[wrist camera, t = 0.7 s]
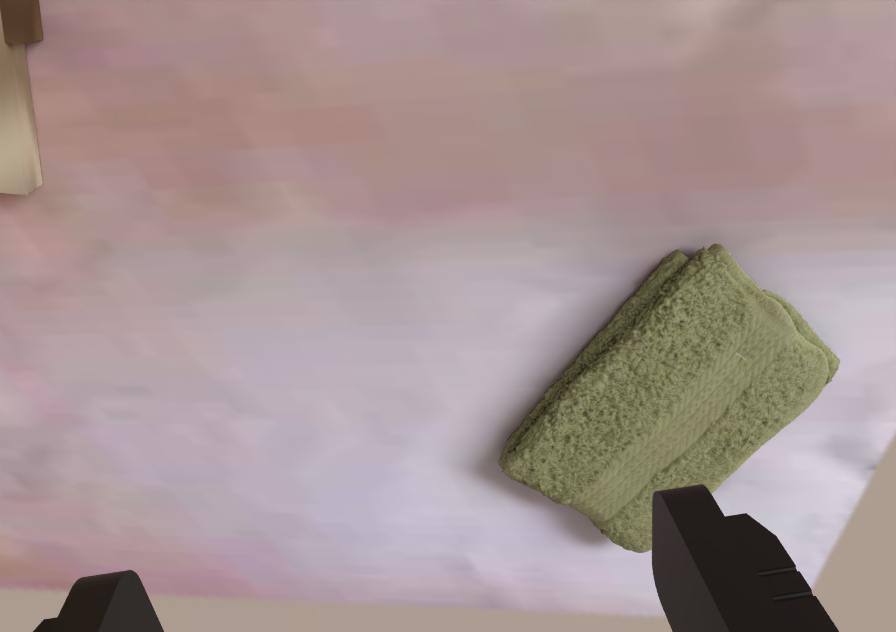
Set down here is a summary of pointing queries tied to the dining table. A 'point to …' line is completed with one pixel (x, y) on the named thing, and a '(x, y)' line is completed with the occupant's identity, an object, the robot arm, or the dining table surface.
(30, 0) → the board
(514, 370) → the dining table surface
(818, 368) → the washcloth
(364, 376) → the dining table surface
